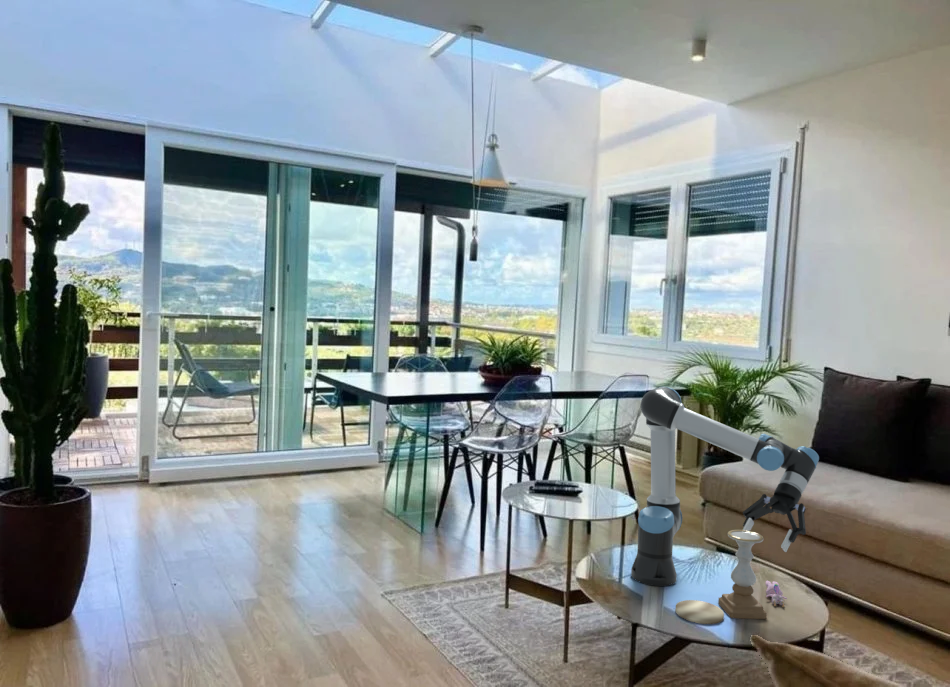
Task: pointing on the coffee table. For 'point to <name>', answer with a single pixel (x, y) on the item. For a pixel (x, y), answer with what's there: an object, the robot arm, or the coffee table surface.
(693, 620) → the hub disc
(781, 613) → the coffee table surface
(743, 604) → the candle holder
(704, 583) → the coffee table surface
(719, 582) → the coffee table surface
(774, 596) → the purple toy figure
